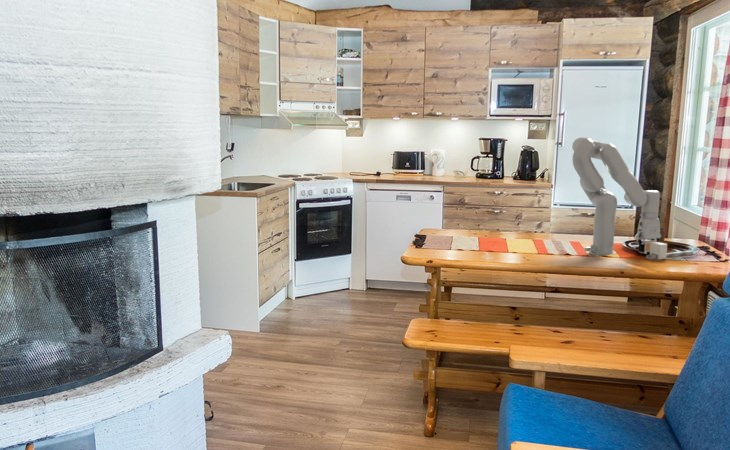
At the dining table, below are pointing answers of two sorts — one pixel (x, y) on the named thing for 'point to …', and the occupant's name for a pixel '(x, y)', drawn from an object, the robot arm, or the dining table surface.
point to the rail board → (671, 255)
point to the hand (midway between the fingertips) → (646, 251)
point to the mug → (661, 239)
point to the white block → (658, 249)
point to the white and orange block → (647, 246)
